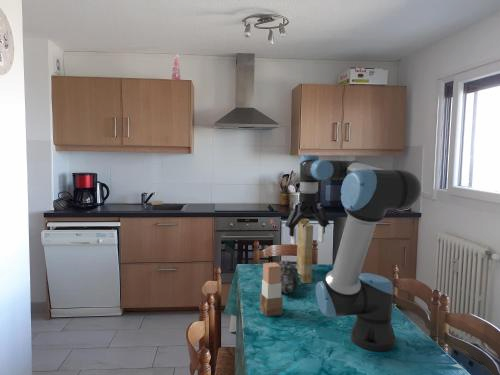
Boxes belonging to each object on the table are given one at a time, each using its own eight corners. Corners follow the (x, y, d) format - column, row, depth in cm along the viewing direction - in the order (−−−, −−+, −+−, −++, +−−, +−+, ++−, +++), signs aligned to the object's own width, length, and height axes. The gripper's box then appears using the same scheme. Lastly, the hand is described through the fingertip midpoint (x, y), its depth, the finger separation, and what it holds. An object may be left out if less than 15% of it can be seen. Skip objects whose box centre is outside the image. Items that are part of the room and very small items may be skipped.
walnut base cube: (282, 314, 154) (282, 297, 153) (266, 316, 152) (267, 299, 151) (275, 307, 161) (275, 291, 160) (259, 309, 158) (260, 293, 157)
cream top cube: (281, 297, 154) (281, 283, 153) (267, 299, 151) (268, 284, 151) (274, 292, 159) (275, 278, 159) (261, 294, 157) (262, 279, 156)
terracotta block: (280, 282, 153) (281, 266, 153) (268, 284, 151) (268, 267, 151) (274, 278, 159) (275, 262, 158) (262, 279, 157) (263, 263, 156)
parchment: (295, 269, 215) (297, 217, 212) (306, 270, 215) (308, 218, 212) (299, 283, 192) (301, 225, 189) (311, 284, 191) (313, 225, 189)
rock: (268, 309, 175) (297, 302, 170) (254, 280, 174) (284, 272, 168) (278, 286, 195) (305, 279, 190) (266, 260, 194) (293, 252, 188)
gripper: (327, 191, 165) (326, 238, 167) (277, 192, 155) (276, 243, 156) (338, 192, 158) (336, 242, 160) (287, 193, 148) (285, 246, 149)
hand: (307, 242), depth 158 cm, fingers open, 13 cm apart
